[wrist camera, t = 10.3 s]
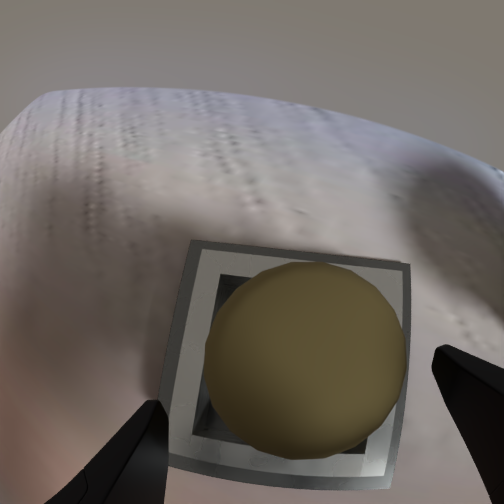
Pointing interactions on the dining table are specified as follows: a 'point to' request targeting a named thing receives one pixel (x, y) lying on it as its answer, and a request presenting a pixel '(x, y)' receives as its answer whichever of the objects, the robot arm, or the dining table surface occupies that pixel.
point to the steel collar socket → (196, 393)
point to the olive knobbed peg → (305, 360)
